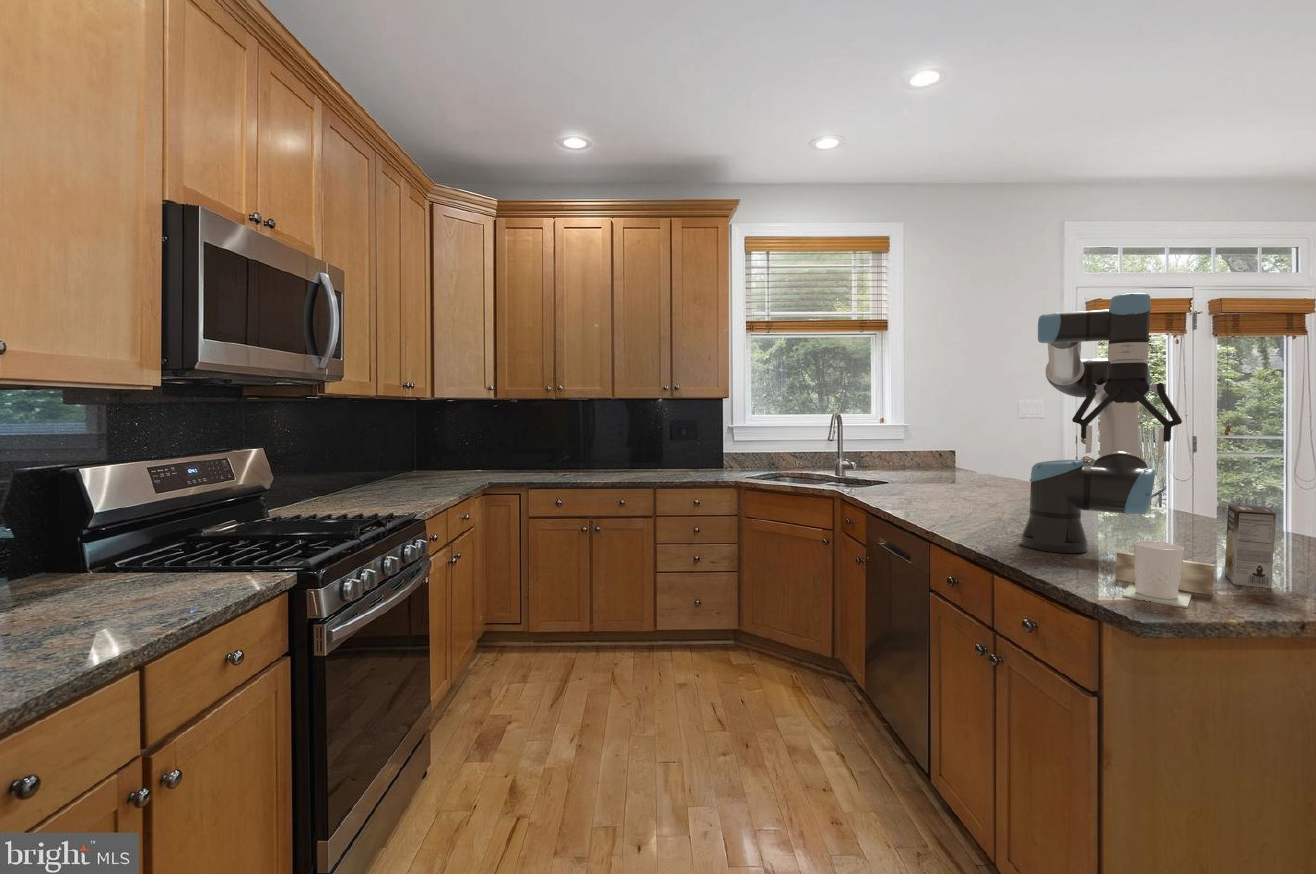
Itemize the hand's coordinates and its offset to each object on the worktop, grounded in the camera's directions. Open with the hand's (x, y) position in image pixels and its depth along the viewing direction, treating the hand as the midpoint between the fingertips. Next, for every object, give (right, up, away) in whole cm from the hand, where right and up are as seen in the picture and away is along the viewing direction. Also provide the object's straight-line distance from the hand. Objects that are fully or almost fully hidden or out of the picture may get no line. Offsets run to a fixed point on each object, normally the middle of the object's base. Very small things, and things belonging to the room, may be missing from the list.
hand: (1123, 454), depth 146 cm
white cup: (-8, -28, -19) cm, 35 cm away
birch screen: (-1, -28, -13) cm, 30 cm away
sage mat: (-8, -28, -19) cm, 35 cm away
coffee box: (+20, -28, -9) cm, 35 cm away
